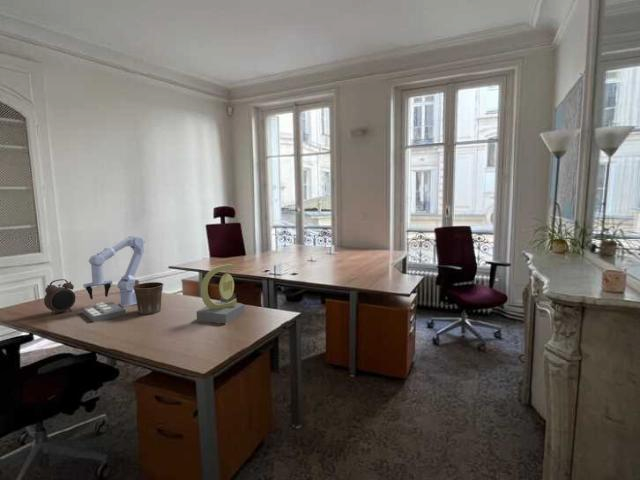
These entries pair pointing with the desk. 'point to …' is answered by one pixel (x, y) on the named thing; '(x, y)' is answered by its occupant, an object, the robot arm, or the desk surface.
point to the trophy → (226, 287)
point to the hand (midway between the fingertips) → (99, 297)
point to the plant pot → (148, 297)
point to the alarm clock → (59, 297)
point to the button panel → (98, 315)
